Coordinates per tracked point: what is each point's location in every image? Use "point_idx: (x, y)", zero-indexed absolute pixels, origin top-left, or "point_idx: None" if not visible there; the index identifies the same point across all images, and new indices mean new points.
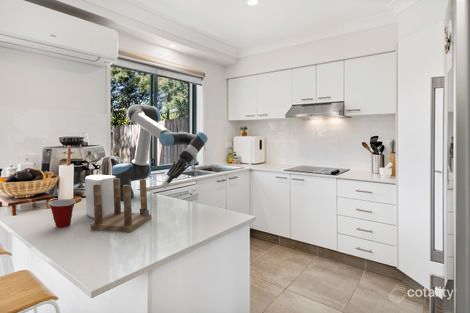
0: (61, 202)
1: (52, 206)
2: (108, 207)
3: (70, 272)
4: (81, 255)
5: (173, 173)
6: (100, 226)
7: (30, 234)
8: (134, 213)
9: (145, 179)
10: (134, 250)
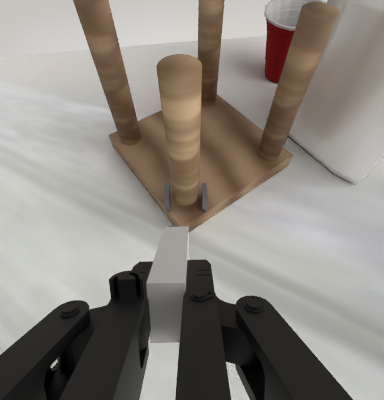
0: None
1: (278, 4)
2: (319, 131)
3: (42, 54)
4: (84, 69)
5: (96, 329)
6: None
7: (258, 42)
8: (229, 187)
9: (178, 78)
10: (12, 119)
